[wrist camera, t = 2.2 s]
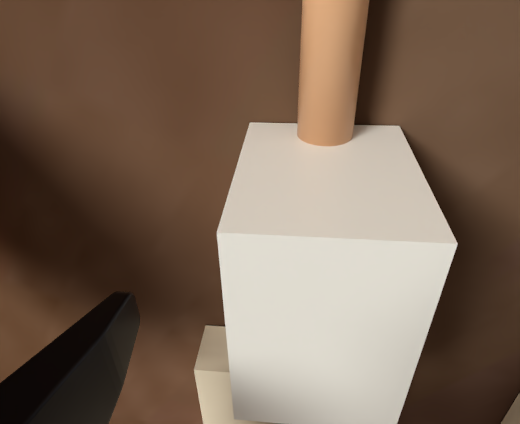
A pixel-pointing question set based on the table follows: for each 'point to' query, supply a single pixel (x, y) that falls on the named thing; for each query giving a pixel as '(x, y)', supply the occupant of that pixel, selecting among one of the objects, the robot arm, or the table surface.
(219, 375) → the notched board
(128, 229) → the table surface
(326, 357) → the white mallet
